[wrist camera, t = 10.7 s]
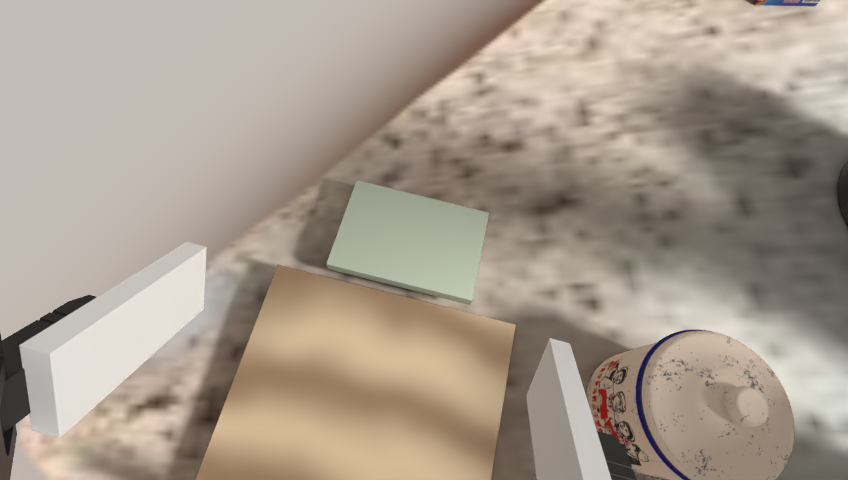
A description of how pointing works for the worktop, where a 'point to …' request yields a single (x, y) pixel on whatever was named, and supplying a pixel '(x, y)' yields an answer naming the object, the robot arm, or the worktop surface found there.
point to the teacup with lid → (694, 409)
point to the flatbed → (361, 388)
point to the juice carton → (787, 2)
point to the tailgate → (410, 242)
